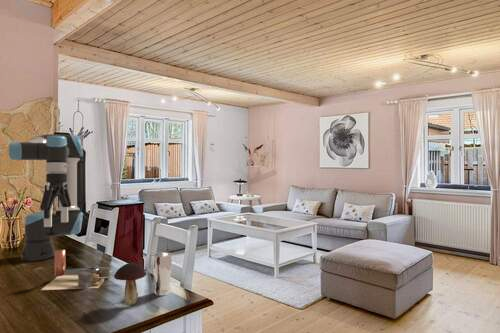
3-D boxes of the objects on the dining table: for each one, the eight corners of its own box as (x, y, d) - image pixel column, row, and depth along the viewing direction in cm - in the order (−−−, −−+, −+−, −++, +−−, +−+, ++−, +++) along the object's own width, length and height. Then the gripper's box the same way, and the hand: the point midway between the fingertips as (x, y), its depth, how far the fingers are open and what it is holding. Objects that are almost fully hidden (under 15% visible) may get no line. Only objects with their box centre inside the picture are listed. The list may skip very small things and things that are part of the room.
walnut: (89, 281, 141) (89, 272, 140) (100, 281, 141) (99, 271, 141) (86, 285, 137) (86, 275, 137) (96, 284, 137) (96, 274, 137)
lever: (57, 275, 144) (57, 249, 144) (111, 273, 147) (111, 247, 147) (52, 280, 139) (52, 252, 139) (107, 278, 142) (107, 250, 142)
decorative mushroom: (152, 301, 126) (152, 260, 125) (133, 313, 115) (133, 269, 115) (127, 297, 129) (127, 257, 129) (106, 309, 119) (106, 265, 118)
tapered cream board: (63, 275, 152) (62, 260, 152) (112, 273, 155) (112, 259, 155) (40, 294, 131) (40, 277, 131) (98, 291, 134) (98, 275, 134)
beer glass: (155, 289, 137) (155, 252, 136) (173, 289, 137) (173, 251, 137) (151, 296, 130) (151, 257, 129) (170, 296, 130) (170, 256, 130)
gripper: (50, 172, 131) (50, 228, 130) (79, 173, 156) (79, 220, 155) (29, 172, 130) (29, 229, 130) (62, 173, 155) (62, 220, 155)
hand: (56, 224), depth 142 cm, fingers open, 13 cm apart
